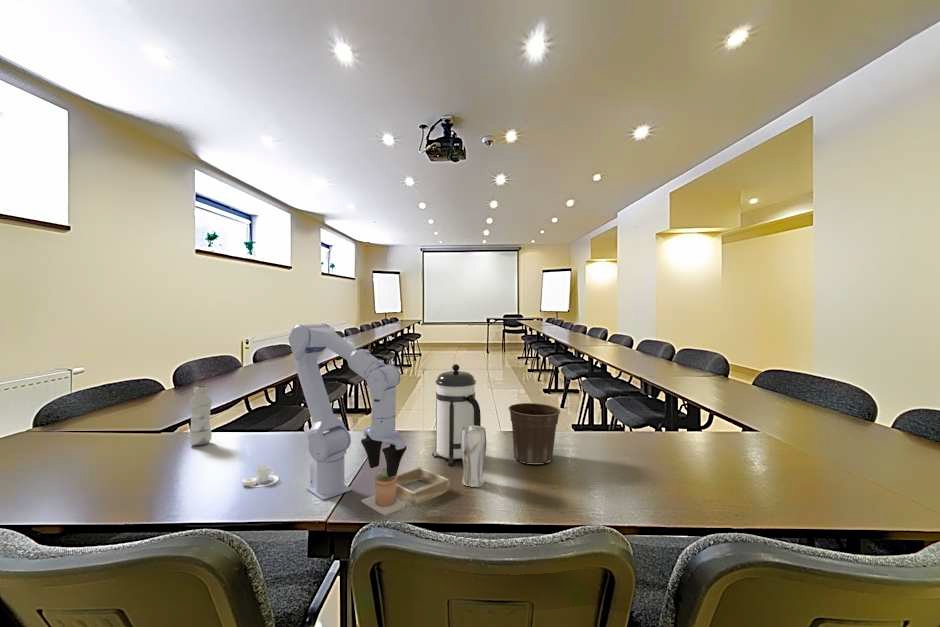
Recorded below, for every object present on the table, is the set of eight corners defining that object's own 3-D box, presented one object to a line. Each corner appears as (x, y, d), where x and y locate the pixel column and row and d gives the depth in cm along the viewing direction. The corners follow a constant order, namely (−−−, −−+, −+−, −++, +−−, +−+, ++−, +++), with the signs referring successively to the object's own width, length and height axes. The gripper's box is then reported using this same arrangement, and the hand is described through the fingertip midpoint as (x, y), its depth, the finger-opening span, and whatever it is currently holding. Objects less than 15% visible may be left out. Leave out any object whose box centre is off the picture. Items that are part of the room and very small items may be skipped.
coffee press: (424, 465, 127) (424, 366, 127) (440, 447, 143) (440, 360, 142) (479, 471, 123) (480, 369, 123) (489, 452, 139) (490, 362, 138)
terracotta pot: (369, 501, 102) (369, 467, 102) (388, 494, 106) (388, 461, 106) (382, 509, 98) (383, 474, 98) (401, 501, 102) (402, 467, 102)
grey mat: (361, 501, 103) (361, 500, 103) (381, 493, 107) (381, 492, 107) (384, 516, 96) (384, 514, 96) (405, 507, 100) (405, 505, 100)
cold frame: (384, 490, 109) (384, 479, 109) (420, 477, 118) (420, 467, 118) (413, 506, 101) (413, 494, 101) (449, 490, 109) (449, 479, 109)
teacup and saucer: (239, 490, 110) (239, 475, 110) (247, 478, 117) (247, 464, 117) (276, 487, 112) (276, 472, 112) (281, 475, 120) (281, 461, 119)
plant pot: (556, 451, 141) (557, 403, 140) (562, 469, 124) (563, 416, 124) (508, 449, 142) (508, 402, 142) (507, 467, 126) (508, 414, 126)
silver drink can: (471, 475, 119) (471, 423, 119) (490, 482, 115) (491, 428, 115) (455, 483, 114) (455, 429, 114) (475, 491, 110) (475, 434, 109)
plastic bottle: (190, 442, 146) (190, 385, 145) (213, 440, 148) (213, 384, 148) (186, 448, 140) (186, 389, 139) (210, 446, 143) (210, 387, 142)
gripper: (415, 418, 99) (414, 475, 100) (380, 407, 109) (380, 459, 110) (390, 424, 94) (390, 484, 94) (356, 412, 104) (356, 466, 105)
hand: (383, 471), depth 102 cm, fingers open, 7 cm apart
